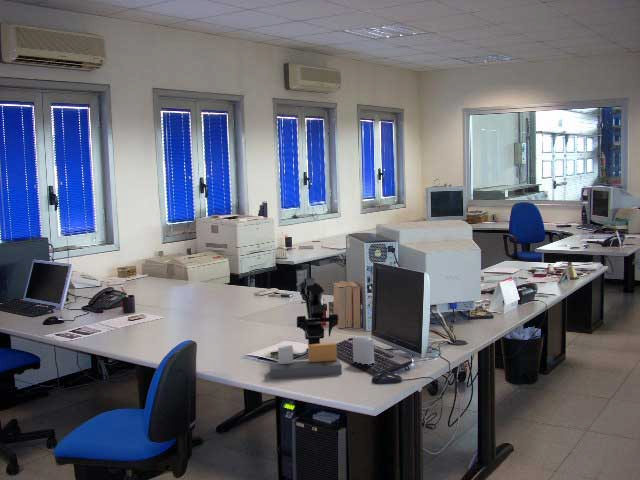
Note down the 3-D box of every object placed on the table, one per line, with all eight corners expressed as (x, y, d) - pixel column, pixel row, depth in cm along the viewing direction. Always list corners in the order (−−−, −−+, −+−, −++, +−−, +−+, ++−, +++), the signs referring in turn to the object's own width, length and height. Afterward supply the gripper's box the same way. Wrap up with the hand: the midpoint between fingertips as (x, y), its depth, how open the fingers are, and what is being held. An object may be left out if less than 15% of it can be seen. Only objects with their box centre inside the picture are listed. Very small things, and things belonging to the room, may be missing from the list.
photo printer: (351, 362, 307) (351, 335, 306) (358, 360, 310) (357, 333, 309) (369, 366, 300) (369, 338, 299) (375, 364, 303) (375, 336, 302)
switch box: (269, 372, 297) (269, 363, 296) (338, 367, 300) (338, 358, 300) (271, 378, 287) (270, 369, 286) (341, 373, 290) (341, 364, 290)
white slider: (278, 362, 296) (278, 346, 295) (292, 361, 297) (292, 345, 296) (279, 364, 293) (278, 348, 292) (293, 363, 294) (292, 347, 293)
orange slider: (308, 360, 297) (308, 344, 297) (336, 358, 299) (335, 342, 298) (309, 362, 294) (308, 346, 294) (337, 360, 296) (336, 344, 295)
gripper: (296, 298, 308) (299, 328, 298) (337, 296, 310) (341, 325, 300) (295, 312, 317) (298, 341, 307) (335, 310, 319) (339, 339, 309)
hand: (319, 336), depth 306 cm, fingers open, 9 cm apart
